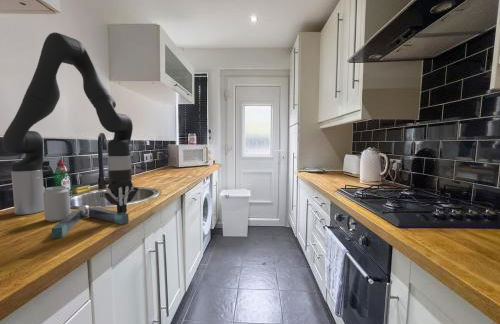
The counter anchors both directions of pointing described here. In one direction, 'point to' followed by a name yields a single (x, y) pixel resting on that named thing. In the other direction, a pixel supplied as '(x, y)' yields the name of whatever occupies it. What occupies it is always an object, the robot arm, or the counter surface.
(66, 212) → the can
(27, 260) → the counter surface
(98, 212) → the tong arm
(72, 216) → the tong base
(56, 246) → the counter surface
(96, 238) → the counter surface
